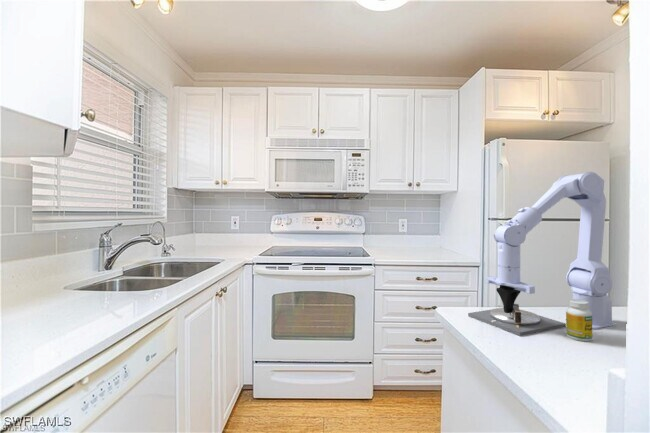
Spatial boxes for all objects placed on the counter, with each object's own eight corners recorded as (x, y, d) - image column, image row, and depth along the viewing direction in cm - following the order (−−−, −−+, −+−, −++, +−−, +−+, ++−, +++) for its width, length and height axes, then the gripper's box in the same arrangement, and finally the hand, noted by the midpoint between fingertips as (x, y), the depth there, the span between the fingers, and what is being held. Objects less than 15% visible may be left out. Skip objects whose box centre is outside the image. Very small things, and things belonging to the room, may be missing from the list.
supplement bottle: (571, 332, 87) (570, 297, 86) (595, 338, 82) (595, 301, 82) (562, 337, 84) (562, 300, 84) (588, 343, 79) (587, 305, 79)
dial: (488, 309, 105) (488, 297, 105) (535, 313, 99) (535, 300, 99) (492, 323, 91) (491, 309, 91) (545, 329, 86) (545, 314, 86)
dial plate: (509, 309, 108) (509, 306, 108) (565, 326, 91) (565, 322, 91) (468, 316, 101) (468, 312, 101) (520, 336, 84) (519, 331, 84)
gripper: (478, 263, 98) (478, 306, 98) (521, 271, 85) (521, 322, 85) (495, 262, 101) (495, 304, 101) (540, 269, 87) (540, 319, 87)
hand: (508, 312), depth 93 cm, fingers closed, pressing on dial
